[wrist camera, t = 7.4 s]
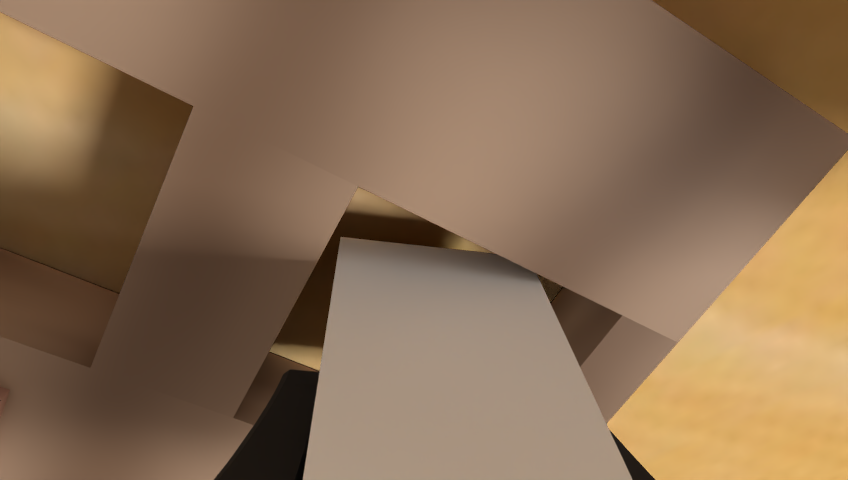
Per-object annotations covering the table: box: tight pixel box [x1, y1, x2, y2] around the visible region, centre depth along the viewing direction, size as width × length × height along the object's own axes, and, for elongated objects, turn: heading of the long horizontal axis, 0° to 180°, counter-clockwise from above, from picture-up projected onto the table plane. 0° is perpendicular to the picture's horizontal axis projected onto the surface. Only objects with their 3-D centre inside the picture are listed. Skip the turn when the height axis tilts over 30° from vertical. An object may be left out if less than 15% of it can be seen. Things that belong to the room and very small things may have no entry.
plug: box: [303, 237, 632, 480], centre depth 10 cm, size 4×4×8 cm
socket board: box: [0, 0, 848, 480], centre depth 12 cm, size 18×16×3 cm
